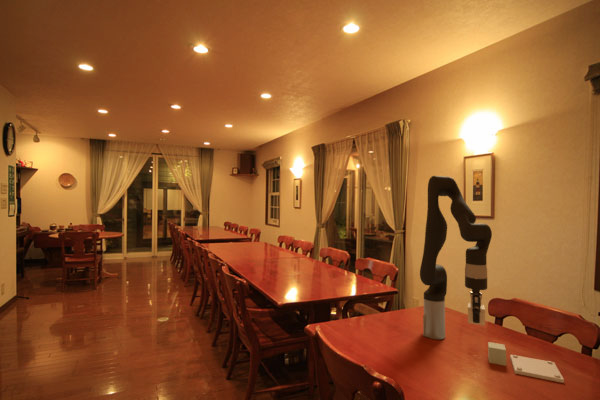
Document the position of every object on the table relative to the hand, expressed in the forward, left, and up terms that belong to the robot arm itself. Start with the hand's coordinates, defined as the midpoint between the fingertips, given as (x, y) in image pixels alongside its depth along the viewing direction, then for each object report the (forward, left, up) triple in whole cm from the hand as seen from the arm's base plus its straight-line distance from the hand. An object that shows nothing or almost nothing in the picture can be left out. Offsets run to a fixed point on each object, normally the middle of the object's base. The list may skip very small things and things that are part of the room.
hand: (476, 319), depth 122 cm
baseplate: (+19, +7, -17) cm, 27 cm away
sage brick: (+7, +8, -17) cm, 20 cm away
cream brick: (0, 0, -1) cm, 1 cm away
